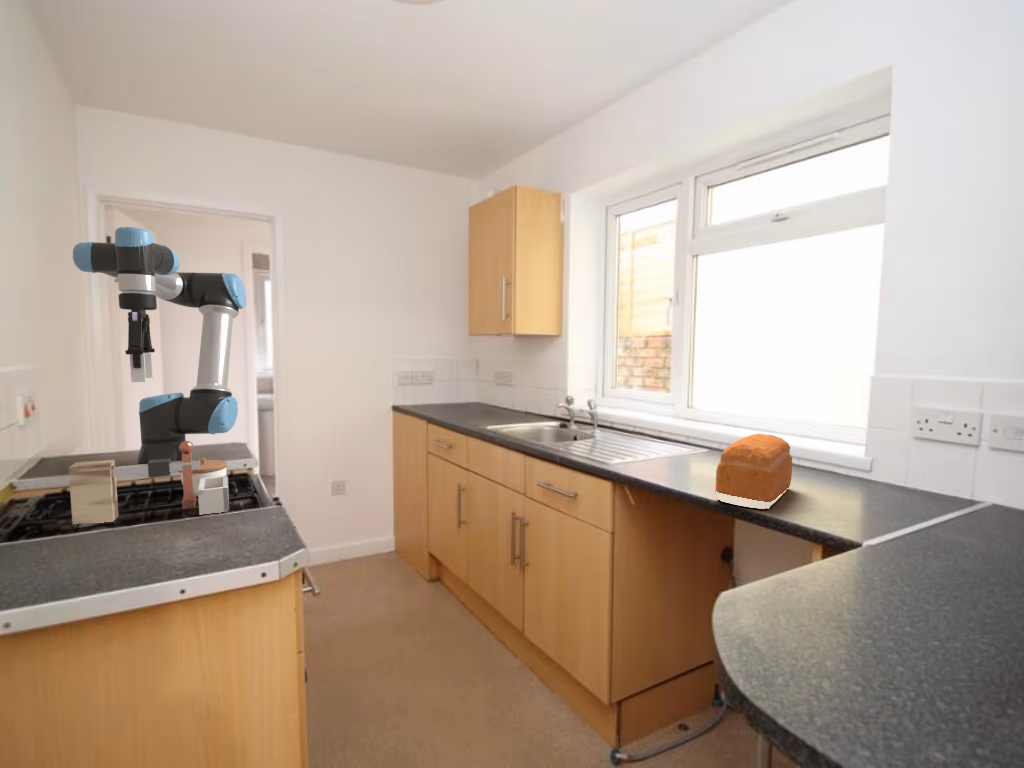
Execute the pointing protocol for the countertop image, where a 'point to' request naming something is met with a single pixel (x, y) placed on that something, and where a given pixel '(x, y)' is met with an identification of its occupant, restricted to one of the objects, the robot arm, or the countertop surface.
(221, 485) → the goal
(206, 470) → the lidded jar
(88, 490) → the paper bag
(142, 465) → the post with horizontal bar
